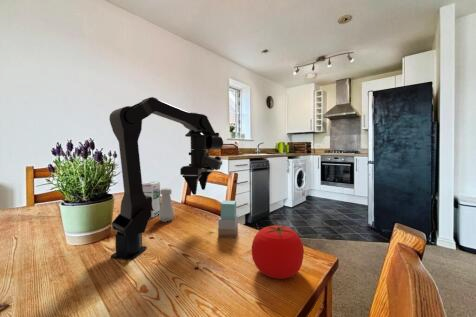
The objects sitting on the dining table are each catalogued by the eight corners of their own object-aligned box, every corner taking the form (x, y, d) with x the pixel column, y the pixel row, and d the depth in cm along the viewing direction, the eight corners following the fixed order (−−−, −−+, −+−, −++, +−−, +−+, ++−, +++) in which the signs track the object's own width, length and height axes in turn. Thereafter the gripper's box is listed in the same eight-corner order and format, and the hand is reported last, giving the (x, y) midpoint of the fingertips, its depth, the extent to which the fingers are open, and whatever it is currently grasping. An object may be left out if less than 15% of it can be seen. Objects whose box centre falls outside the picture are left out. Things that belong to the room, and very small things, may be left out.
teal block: (234, 219, 67) (234, 204, 66) (220, 218, 67) (220, 203, 67) (236, 215, 71) (236, 200, 71) (223, 214, 72) (223, 200, 72)
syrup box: (153, 217, 87) (152, 183, 87) (141, 216, 88) (140, 183, 88) (161, 213, 93) (160, 181, 92) (149, 213, 94) (148, 181, 93)
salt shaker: (164, 223, 80) (163, 190, 79) (156, 220, 83) (155, 188, 83) (176, 219, 84) (176, 188, 84) (168, 217, 88) (168, 186, 87)
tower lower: (234, 238, 66) (234, 229, 66) (218, 237, 67) (218, 228, 67) (237, 232, 71) (237, 223, 71) (222, 231, 72) (222, 222, 72)
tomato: (278, 296, 39) (278, 242, 39) (241, 268, 49) (241, 225, 49) (315, 274, 46) (315, 228, 46) (276, 253, 56) (276, 215, 56)
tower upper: (235, 229, 66) (235, 220, 66) (218, 228, 67) (218, 219, 67) (238, 223, 71) (237, 215, 71) (222, 222, 72) (222, 214, 72)
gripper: (212, 149, 65) (212, 198, 65) (225, 149, 83) (226, 188, 84) (179, 149, 67) (179, 197, 67) (199, 149, 85) (200, 187, 85)
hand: (199, 191), depth 76 cm, fingers open, 9 cm apart
